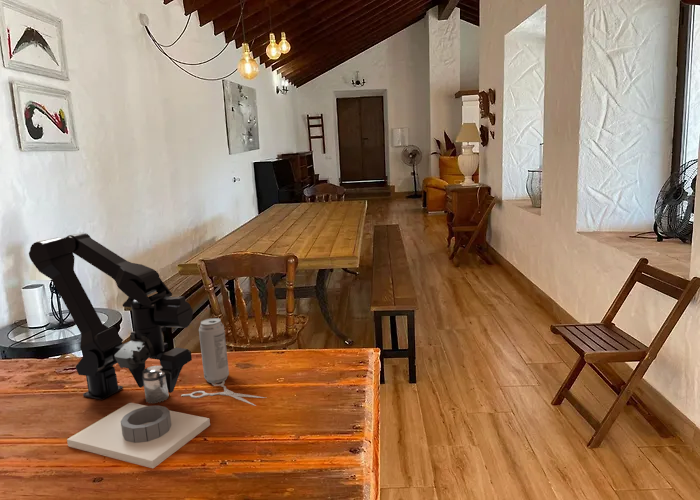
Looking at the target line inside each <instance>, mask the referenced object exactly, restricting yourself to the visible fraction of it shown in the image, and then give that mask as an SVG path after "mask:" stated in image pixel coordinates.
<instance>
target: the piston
mask: <svg viewBox="0 0 700 500" xmlns="http://www.w3.org/2000/svg"><path fill="white" fill-rule="evenodd" d="M161 368H163V367H162V366H161V365H153V366H152V365H151V366H148V367H145V369H144V370H143V371H142V379H143V383H144V386H143V389H144V397H145V402H146V403H147V402H148V403H147V404H157V403H158V402H159V403H162V402H164V400H165V401H167V399H169V392H168V388H167V383H166V377H165V373H164V372H162V371H161V370H160V369H161ZM161 401H162V402H161Z"/></svg>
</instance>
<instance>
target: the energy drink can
mask: <svg viewBox="0 0 700 500" xmlns="http://www.w3.org/2000/svg"><path fill="white" fill-rule="evenodd" d="M198 334H199V335H198V336H199V343H200V344H199V345H200V352H201V354H200V355H201V361H202V362H201V363H202V370H203V371H202V372H203V378H204V379H205V380H206V382H207V383H208V384H211V383H215V384H221V383H223V381H226V380H227V379H228V376H229V375H230V370H229V359H228V352H227V343H226V342H227V340H226V331H225V325H224V324H223V323H222V321H221V318H218V317H214V318H212V317H211V318H206V319H203V320H201V321H200V325H199V328H198Z"/></svg>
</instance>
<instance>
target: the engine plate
mask: <svg viewBox="0 0 700 500" xmlns="http://www.w3.org/2000/svg"><path fill="white" fill-rule="evenodd" d="M210 422H211V420H210V418H209V417H204V416H201V415H200V416H198V415H193V414H189V413H185V412H180V411H174V410H170V409H169V408H168V407H166V406H162V405H144V404H139V403H135V402H128V403H127V404H125V405H123V406H121V407H120V408H117V410H115V411H113V412H111V413H109V414H107V416H106V415H105V417H102V418H101V419H99V420H98V421H97V420H96V422H94V423H92V424H90V425H89V426H87V427H86V428H84V429H82V430H81V431H80V430H79V432H77V433H75V434H74V435H71V436H70V437H67V439H66V442H67V446H68V447H70V448H73V449H78V450H80V451H85V452H88V453H91V454H95V455H101V456H105V457H107V458H111V459H114V460H115V459H116V460H118V461H119V460H120V461H123V462H126V463H130V464H135V465H139V466H140V467H141V466H142V467H146V468H150V469H154V468H156V467H157V466H159V465H160V464H161V463H162V462H164V461H165V460H167V458H170V456H172V455H173V454H175V452H177V451H179V449H181V448H183V446H185V445H186V444H188V443H189V442H190V441H191V440H193V439H194V438H195V437H196V436H198V435H199V434H200V433H202V432H203V431H204V430H206V429H207V428H208V427H210V426H211V423H210Z"/></svg>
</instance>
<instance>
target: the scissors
mask: <svg viewBox="0 0 700 500" xmlns="http://www.w3.org/2000/svg"><path fill="white" fill-rule="evenodd" d="M225 381H226V380H225ZM225 381H223V382H220V383H210V384H211V385H212V386H214V387H218V386H219V387H221V388H223V391H222V392H213V393H211V392H210V393H209V392H205V390H197V391H193V392H191V393H185V394H184V393H183V394H181V395H180V397H182V396H183V397H190V398H191V399H199V398H200V399H201V398H203V397H207V396H210V397H212V396H213V397H214V396H217V395H219V396H220V395H221V396H225V397H226V396H227V397H232V398H234V399H236V400H238V401H241V402H243V403H246V404H249V405H251V406H253V407H254V406H255V407H256V406H257V405H256V404H254V403H253V402H250V401H248V400H247V399H245V398H261V399H265V398H266V397H263V396H259V395H252V394H245V393H244V394H243V393H239V392H238V393H237V392H234V391H232V390H230V389H228V388H227V386H226V385H225V384H226V382H225ZM196 394H200V395H196ZM244 397H245V398H244Z"/></svg>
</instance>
